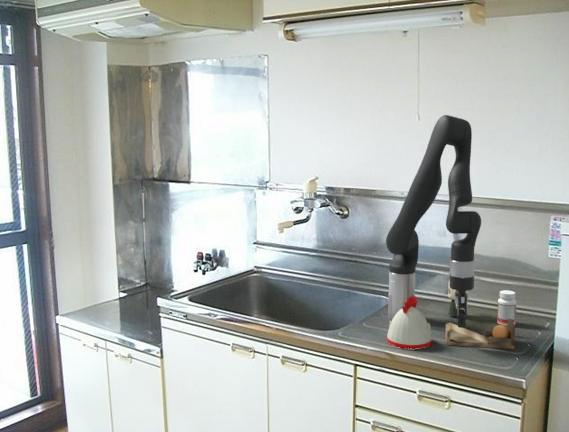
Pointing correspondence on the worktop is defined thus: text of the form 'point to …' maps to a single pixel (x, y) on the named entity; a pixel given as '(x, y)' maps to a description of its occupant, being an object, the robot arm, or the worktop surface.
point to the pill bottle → (506, 308)
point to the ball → (500, 332)
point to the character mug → (453, 301)
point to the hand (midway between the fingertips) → (460, 323)
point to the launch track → (479, 337)
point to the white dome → (409, 327)
